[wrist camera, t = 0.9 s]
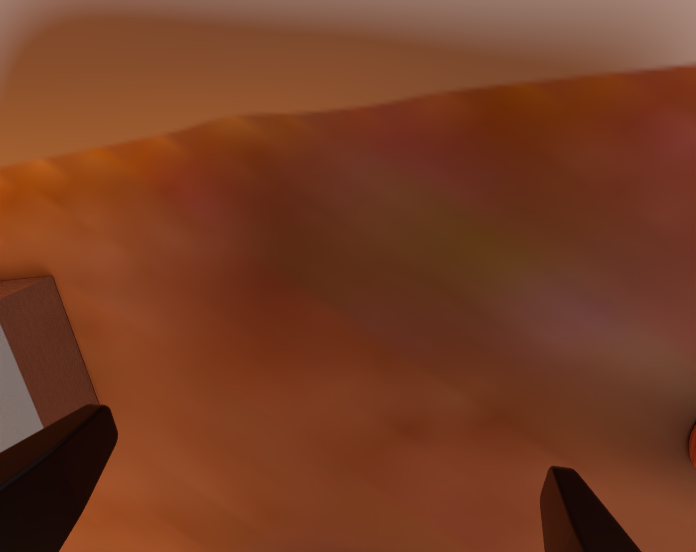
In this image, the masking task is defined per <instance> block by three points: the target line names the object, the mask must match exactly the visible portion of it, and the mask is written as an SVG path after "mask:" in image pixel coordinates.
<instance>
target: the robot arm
mask: <svg viewBox="0 0 696 552" xmlns="http://www.w3.org/2000/svg"><path fill="white" fill-rule="evenodd" d="M117 439H118V431H117V428H116V425H115V422H114V419H113V416H112V413H111V410H110V408H109V407H108V406H106V405H100V404H87V405H85V406H83V407H81V408H79V409H77V410H75V411H74V412H72V413H70V414H68V415H66V416H65V417H63V418H61V419H59V420H58V421H56V422H54V423H52V424H50V425H49V426H47V427H45V428H43V429H41V430H40V431H38V432H36V433H34V434H32V435H31V436H29V437H27V438H25V439H23V440H22V441H20V442H18V443H16V444H15V445H13V446H11V447H9V448H7V449H6V450H4V451H2V452H0V552H59V550H60V549H61V547H62V545H63V544H64V542H65V541H66V539H67V537H68V536H69V534H70V532H71V531H72V529H73V527H74V526H75V524H76V522H77V521H78V519H79V517H80V515H81V514H82V512H83V510H84V508H85V506H86V504H87V502H88V500H89V498H90V496H91V494H92V492H93V490H94V488H95V486H96V484H97V482H98V480H99V478H100V476H101V474H102V472H103V470H104V468H105V466H106V464H107V462H108V459H109V457H110V455H111V453H112V451H113V449H114V447H115V445H116V442H117ZM540 509H541V519H542V529H543V538H544V548H545V552H641V551H640V549H639V548H638V547H637V546H636V544H635V543H634V542H633V541H632V539H631V538H630V537H629V536H628V534H627V533H626V532H625V531H624V530H623V528H622V527H621V526H620V525H619V523H618V522H617V521H616V520H615V518H614V517H613V516H612V515H611V513H610V512H609V511H608V510H607V509H606V507H605V506H604V505H603V504H602V502H601V501H600V500H599V499H598V497H597V496H596V495H595V494H594V493H593V491H592V490H591V489H590V488H589V486H588V485H587V484H586V483H585V481H584V480H583V479H582V478H581V476H580V475H579V474H578V473H577V472H576V471H575V470H574V469H572V468H567V467H559V466H551V467H550V468H549V470H548V472H547V476H546V479H545V482H544V485H543V488H542V492H541V496H540Z"/></svg>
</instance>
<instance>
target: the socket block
mask: <svg viewBox="0 0 696 552" xmlns="http://www.w3.org/2000/svg"><path fill="white" fill-rule="evenodd" d="M87 404H99V403H98V401H97V398H96V395H95V392H94V390H93V387H92V384H91V381H90V379H89V376H88V373H87V370H86V368H85V365H84V362H83V360H82V357H81V354H80V351H79V349H78V346H77V343H76V340H75V338H74V335H73V332H72V329H71V327H70V324H69V321H68V318H67V316H66V313H65V310H64V307H63V305H62V302H61V299H60V296H59V294H58V291H57V288H56V285H55V283H54V280H53V277H52V276H46V277H36V278H26V279H16V280H6V281H0V452H2V451H4V450H6V449H7V448H9V447H11V446H13V445H15V444H16V443H18V442H20V441H22V440H23V439H25V438H27V437H29V436H31V435H32V434H34V433H36V432H38V431H40V430H41V429H43V428H45V427H47V426H49V425H50V424H52V423H54V422H56V421H58V420H59V419H61V418H63V417H65V416H66V415H68V414H70V413H72V412H74V411H75V410H77V409H79V408H81V407H83V406H85V405H87Z"/></svg>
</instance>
